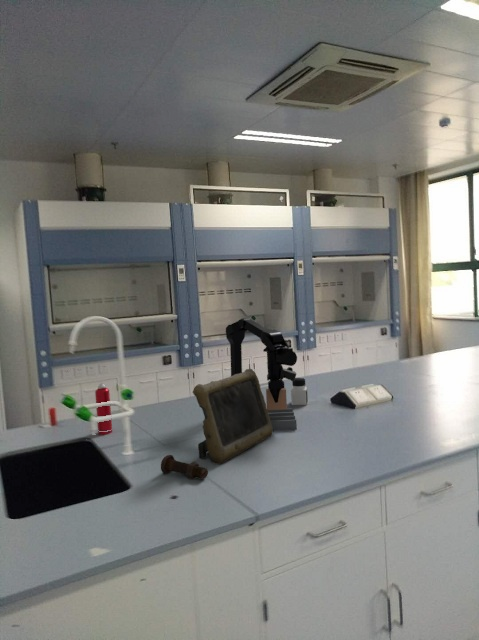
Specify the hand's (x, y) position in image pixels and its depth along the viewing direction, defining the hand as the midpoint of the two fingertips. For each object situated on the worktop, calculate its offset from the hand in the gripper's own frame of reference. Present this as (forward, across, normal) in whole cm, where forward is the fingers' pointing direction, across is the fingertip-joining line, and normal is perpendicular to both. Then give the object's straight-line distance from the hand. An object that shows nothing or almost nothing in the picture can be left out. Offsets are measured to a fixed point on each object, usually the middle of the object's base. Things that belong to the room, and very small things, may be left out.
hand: (276, 401), depth 180 cm
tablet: (+9, -25, +15) cm, 31 cm away
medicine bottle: (+9, +30, -12) cm, 34 cm away
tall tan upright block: (+3, 0, 0) cm, 3 cm away
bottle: (+9, -2, +70) cm, 71 cm away
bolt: (+9, -48, +30) cm, 57 cm away
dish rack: (+9, 0, 0) cm, 9 cm away
